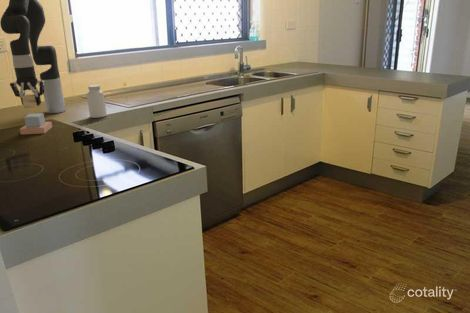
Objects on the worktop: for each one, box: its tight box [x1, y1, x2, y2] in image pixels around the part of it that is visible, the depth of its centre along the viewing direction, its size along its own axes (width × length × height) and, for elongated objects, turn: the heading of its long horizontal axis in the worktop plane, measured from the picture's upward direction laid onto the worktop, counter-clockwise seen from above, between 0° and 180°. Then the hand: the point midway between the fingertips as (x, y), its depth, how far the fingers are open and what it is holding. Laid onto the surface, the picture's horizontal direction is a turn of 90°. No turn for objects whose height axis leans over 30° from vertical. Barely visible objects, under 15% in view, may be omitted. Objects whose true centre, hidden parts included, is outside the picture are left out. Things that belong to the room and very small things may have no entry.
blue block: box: [23, 112, 46, 127], centre depth 183 cm, size 6×6×4 cm
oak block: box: [22, 93, 40, 109], centre depth 179 cm, size 5×5×5 cm
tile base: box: [19, 121, 53, 135], centre depth 184 cm, size 10×10×2 cm
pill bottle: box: [86, 84, 107, 119], centre depth 203 cm, size 8×8×15 cm
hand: (32, 105), depth 180 cm, fingers closed on oak block, 5 cm apart
